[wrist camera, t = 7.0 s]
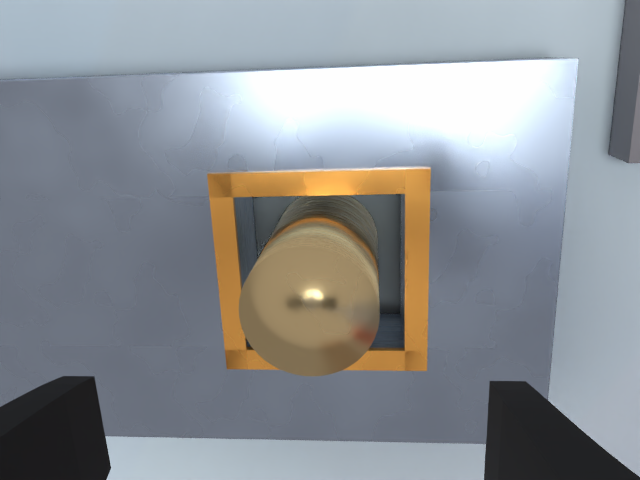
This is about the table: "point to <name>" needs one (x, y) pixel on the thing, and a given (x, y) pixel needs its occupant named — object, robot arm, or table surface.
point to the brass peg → (314, 288)
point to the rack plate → (240, 240)
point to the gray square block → (628, 90)
